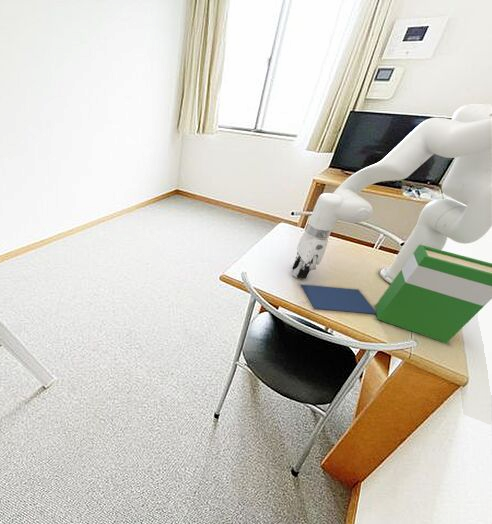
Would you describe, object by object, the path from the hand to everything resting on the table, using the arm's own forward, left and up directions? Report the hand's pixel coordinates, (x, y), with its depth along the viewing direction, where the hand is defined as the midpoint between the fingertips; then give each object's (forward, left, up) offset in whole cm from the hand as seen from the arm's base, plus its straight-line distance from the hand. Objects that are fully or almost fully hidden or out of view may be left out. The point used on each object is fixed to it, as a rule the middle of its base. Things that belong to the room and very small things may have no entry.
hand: (299, 273), depth 112 cm
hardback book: (-27, +21, -1) cm, 34 cm away
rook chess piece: (0, 0, -1) cm, 1 cm away
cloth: (-9, +12, -1) cm, 15 cm away
